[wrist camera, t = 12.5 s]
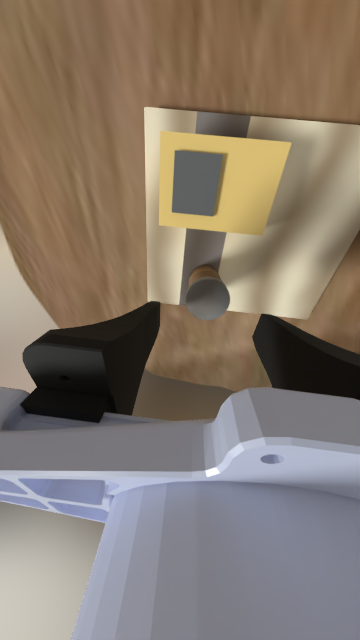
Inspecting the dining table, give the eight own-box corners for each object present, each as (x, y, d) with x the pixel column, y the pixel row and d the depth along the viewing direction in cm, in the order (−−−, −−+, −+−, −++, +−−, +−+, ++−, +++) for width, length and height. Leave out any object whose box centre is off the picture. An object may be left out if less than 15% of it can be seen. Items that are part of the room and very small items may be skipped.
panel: (399, 138, 12) (417, 129, 11) (301, 314, 21) (307, 319, 20) (148, 116, 13) (144, 106, 12) (150, 297, 21) (147, 301, 20)
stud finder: (266, 164, 13) (295, 139, 9) (247, 233, 16) (264, 236, 12) (169, 155, 13) (159, 127, 9) (166, 225, 16) (157, 225, 12)
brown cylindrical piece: (224, 268, 17) (237, 286, 12) (213, 298, 19) (220, 324, 14) (193, 260, 17) (192, 274, 12) (184, 290, 19) (181, 314, 14)
